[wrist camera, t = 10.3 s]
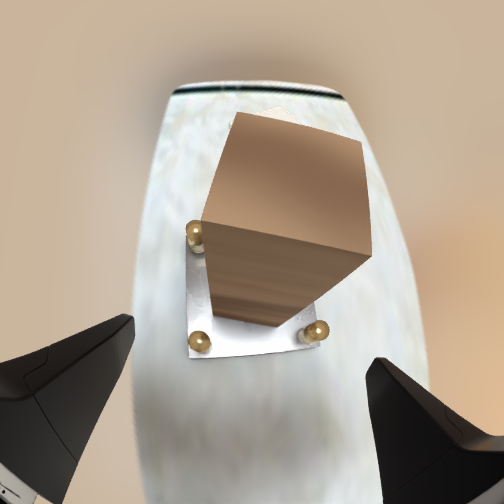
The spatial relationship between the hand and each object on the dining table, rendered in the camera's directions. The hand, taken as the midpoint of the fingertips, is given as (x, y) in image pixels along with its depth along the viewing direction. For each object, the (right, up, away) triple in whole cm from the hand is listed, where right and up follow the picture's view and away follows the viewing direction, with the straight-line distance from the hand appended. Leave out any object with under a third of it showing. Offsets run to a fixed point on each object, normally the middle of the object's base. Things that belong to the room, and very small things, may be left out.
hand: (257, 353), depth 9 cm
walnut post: (0, 0, +12) cm, 12 cm away
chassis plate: (0, 0, +13) cm, 13 cm away
